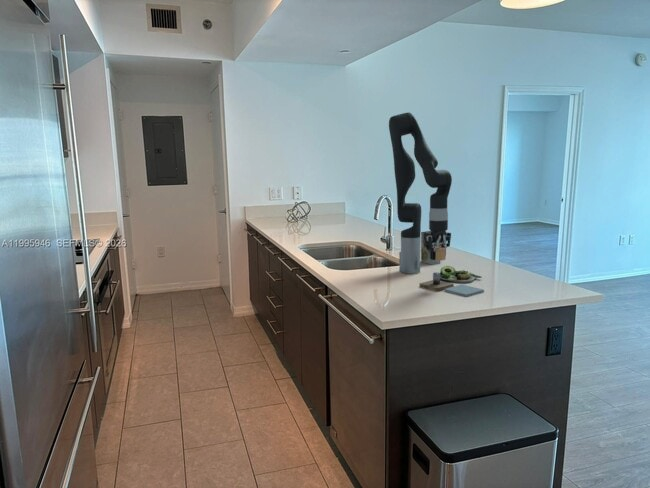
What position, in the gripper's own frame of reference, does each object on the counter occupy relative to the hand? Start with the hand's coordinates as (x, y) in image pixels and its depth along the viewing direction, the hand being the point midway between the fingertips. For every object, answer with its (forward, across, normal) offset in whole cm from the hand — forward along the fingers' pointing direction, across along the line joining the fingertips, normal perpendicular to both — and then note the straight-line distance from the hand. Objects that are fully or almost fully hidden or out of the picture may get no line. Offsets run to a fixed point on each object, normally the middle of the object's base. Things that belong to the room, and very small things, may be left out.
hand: (438, 258), depth 199 cm
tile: (+12, +2, -12) cm, 17 cm away
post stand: (+12, -1, 0) cm, 12 cm away
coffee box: (+13, +35, +34) cm, 51 cm away
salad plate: (+13, +17, +5) cm, 22 cm away
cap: (0, 0, 0) cm, 0 cm away
